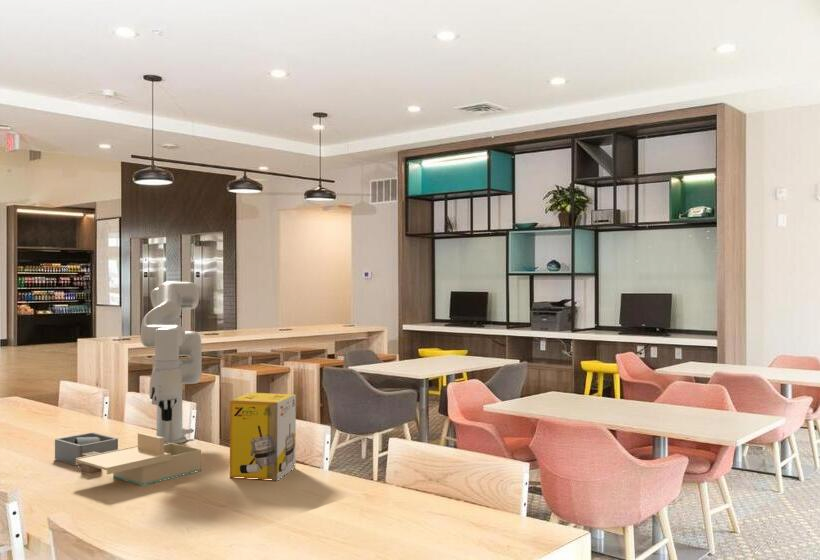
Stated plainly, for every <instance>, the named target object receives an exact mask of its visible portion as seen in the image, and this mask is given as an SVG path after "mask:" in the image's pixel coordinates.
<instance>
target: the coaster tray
mask: <svg viewBox="0 0 820 560" xmlns="http://www.w3.org/2000/svg"><path fill="white" fill-rule="evenodd" d="M79 437H98V438H100V440H101V441H100V442H95V443H89V444H84V445H78V444H75V443H74V441H75V438H79ZM114 450H119V438H118V437H113V436H109V435H106V434H101V433H97V432H88V433H81V434H76V435H69V436H65V437H60V438H55V439H54V460H55V459H56V461H59V462H61V463H62V462H63V463H66V464H68V465H71V466H75V467H78V466H79V467H82V464H79V465H76V458H79V457H82V454H84V453H89V452H94V451H95V452H98V453H104V452H109V451H114Z"/></svg>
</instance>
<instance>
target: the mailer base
mask: <svg viewBox="0 0 820 560" xmlns="http://www.w3.org/2000/svg"><path fill="white" fill-rule="evenodd" d="M164 452H165V453H169V454H170V453H171V460H168V461H164V462H160V463H155V464H151V465H147V466H142V467H138V468H134V469H129V470H125V471H120V472H116V473H112V475H113V476H112V477H113V478H115V479H120V480H122V479H123V480H122V481H127V482H129V481H130V482H129V483H132V482H133V483H132V484H135V485H139V484H140V486H142V485H143V486H146V485H145V484H147V485H150V484H149V483H151V484H154V483H153V482H155V483H158V482H157V481H159V482H161V481H160V480H163V481H165V480H164V479H167V480H169V479H168V478H171V479H173V478H172V477H175V478H177V477H176V476H179V477H181V476H180V475H183V474H187V473H191V472H195V471H199V470H201V471H202V449H199V448H195V447H191V446H186V445H182V444H180V443H179V444H175V443H169V444H164ZM199 472H200V471H199ZM195 473H196V472H195ZM191 474H192V473H191ZM187 475H188V474H187ZM183 476H184V475H183Z"/></svg>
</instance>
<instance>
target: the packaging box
mask: <svg viewBox="0 0 820 560" xmlns="http://www.w3.org/2000/svg"><path fill="white" fill-rule="evenodd" d="M296 397H297V396H296V394H294V393H293V394H292V393H289V394H288V393H270V392H269V393H268V392H248V393H245V394H243V395H241V396H238V397H236V398H233V399H230V400H229V478H230V477H244V478H258V479H272V480H278V479H280V478H281V477H283V476H284V475H285V474H287V473H288V472H290V471H291V470H292V469H294V468H295V469H296V436H297V435H296V431H297V430H296V429H297V428H296V427H297V426H296V423H297V422H296V415H297V414H296V410H297V408H296V407H297V403H296V402H297V400H296V399H297V398H296ZM294 464H295V465H294ZM295 469H294V470H295ZM292 471H293V470H292ZM292 471H291V472H292ZM291 472H290V473H291ZM288 474H289V473H288ZM288 474H287V475H288ZM285 476H286V475H285ZM285 476H284V477H285ZM284 477H283V478H284ZM281 479H282V478H281ZM281 479H280V480H281Z"/></svg>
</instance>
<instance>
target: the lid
mask: <svg viewBox="0 0 820 560" xmlns="http://www.w3.org/2000/svg"><path fill="white" fill-rule="evenodd" d="M168 460H171V453H170V454H169V453H165V452H164V437H159V436H156V435H154V434H151V433H150V434H149V433H146V432H137V445H135V446H130V447H129V446H128V447H124V448H118V450H114V451H109V452H104V453H99V454H94V455H89V456H84V457H79V458H76V465H79V464H87V465H90V466H94V467H97V468H100V469H102V470H105V471H106V475H111V474H112V475H113V473H116V472H120V471H125V470H129V469H134V468H138V467H142V466H147V465H151V464H155V463H160V462H164V461H168Z"/></svg>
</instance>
